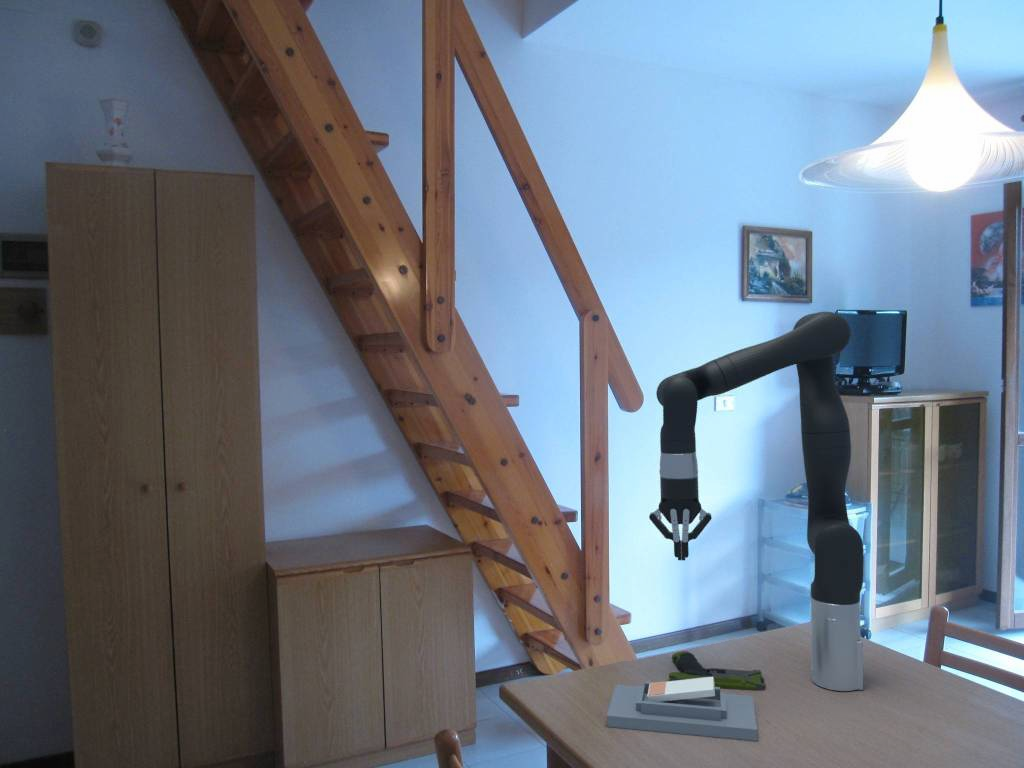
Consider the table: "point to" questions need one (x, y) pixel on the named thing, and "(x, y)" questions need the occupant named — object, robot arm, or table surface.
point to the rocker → (681, 689)
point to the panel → (684, 714)
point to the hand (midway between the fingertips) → (681, 559)
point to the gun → (716, 674)
